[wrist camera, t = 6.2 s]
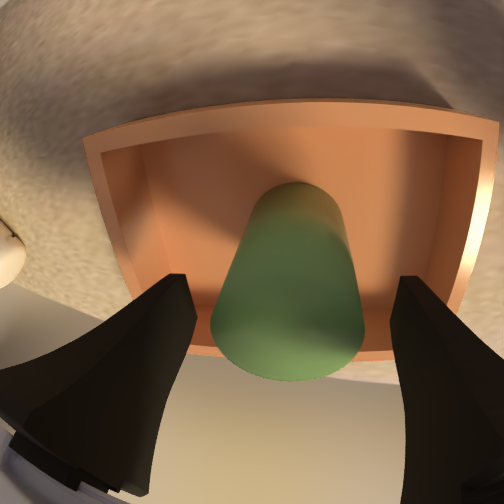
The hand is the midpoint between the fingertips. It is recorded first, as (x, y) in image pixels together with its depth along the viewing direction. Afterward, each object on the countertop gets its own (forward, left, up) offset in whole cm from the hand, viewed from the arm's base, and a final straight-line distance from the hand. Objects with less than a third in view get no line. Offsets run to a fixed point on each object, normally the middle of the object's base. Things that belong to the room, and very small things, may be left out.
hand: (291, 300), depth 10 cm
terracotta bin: (0, 0, -6) cm, 6 cm away
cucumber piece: (0, 0, -5) cm, 5 cm away
